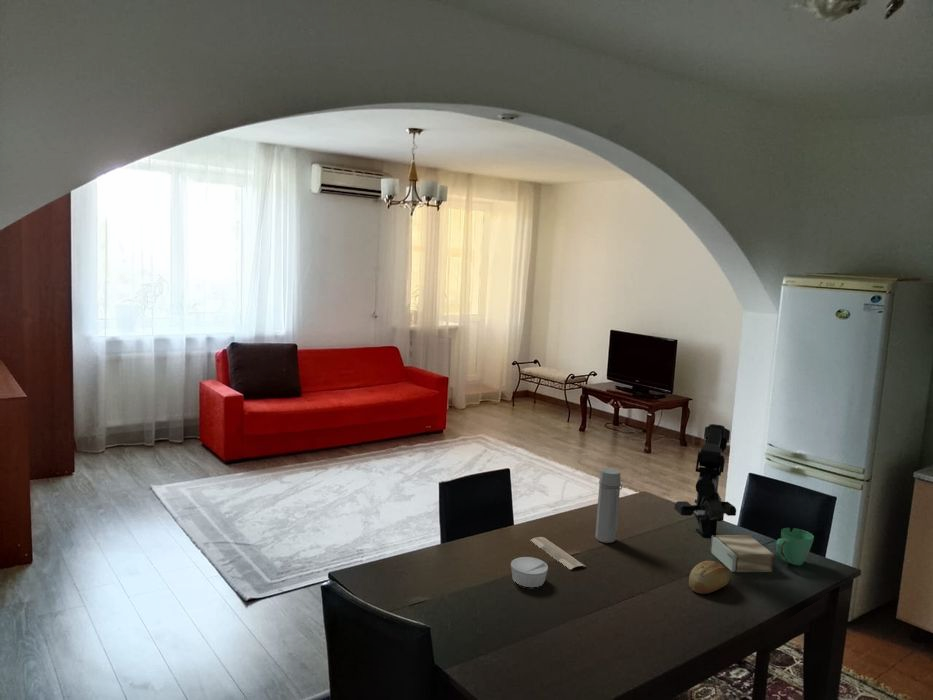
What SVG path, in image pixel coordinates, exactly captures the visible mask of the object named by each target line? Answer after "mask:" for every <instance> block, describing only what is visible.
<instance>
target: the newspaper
mask: <svg viewBox="0 0 933 700" xmlns="http://www.w3.org/2000/svg"><path fill="white" fill-rule="evenodd" d="M530 541H532V542H533V543H534V544H535V545H534V544H533V543H532V542H531V543H532V544H533V545H534V546H536V545H537V546H538V547H537V546H536V547H537V548H538V549H540V548H541V549H542V550H541V549H540V550H541V551H543V550H544V551H545V552H546V553H545V552H544V551H543V552H544V553H545V554H547V553H548V554H549V555H550V556H549V555H548V554H547V555H548V556H549V557H550V558H552V557H553V558H552V559H554V560H555V559H556V560H557V562H558V561H559V562H560V563H562V564H563V565H564V566H563V565H562V564H561V565H562V566H563V567H565V566H566V567H567V568H568V569H567V568H566V567H565V568H566V569H567V570H569V569H570V570H573V569H574V568H577V567H582V566H583V567H582V568H584V567H587V566H586V565H585V564H584V563H582V562H580V561H579V560H578V559H576V558H574V557H573V556H572V555H570V553H567V552H566V551H564V550H563V549H562V548H560V547H559V546H557V545H556V544H554V543H553V542H552V541H550V540H549V539H547V538H546V537H544V536H537V537H533V538H532V539H530V540H529V542H530ZM556 560H555V561H556ZM559 562H558V563H559ZM560 563H559V564H560ZM570 570H569V571H570Z"/></svg>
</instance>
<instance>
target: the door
mask: <svg viewBox="0 0 933 700" xmlns="http://www.w3.org/2000/svg"><path fill="white" fill-rule="evenodd" d="M710 539H711V541H710V550H709V551H710V552H711V554H712V555H713V556H714V557H716V559H718V560H719V561H720V562H721V563H722V565H724V566H725V567H726V568H727V569H728V570H730V572H734V573H735V572H736V571H735V567H736V558H737V555H736V554H735V553H733V552H732V551H731V550H730V549H729V548H728V547H727V546H725V545H724V544H723V543H722V542H721V541H720V540H718V539H717V538H716V537H715V536H714V535H712V537H711V538H710Z"/></svg>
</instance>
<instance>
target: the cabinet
mask: <svg viewBox="0 0 933 700" xmlns="http://www.w3.org/2000/svg"><path fill="white" fill-rule="evenodd" d="M716 538H717V539H718V540H720V541H721V542H722V543H723V544H724V545H725V546H727V547H728V548H729V549H730V550H731V551H732V552H733V553H735V554H736V555H737V558H736V567H735V572H736V573H772V572H773V563H774V553H773V552H772V551H770V550H769V549H768V548H766V547H765V546H764V545H762V544H761V543H760V542H759V541H757V540H756V539H755V538H753V537H752V536H751V535H750V534H719V535H716Z"/></svg>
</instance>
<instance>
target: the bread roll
mask: <svg viewBox="0 0 933 700" xmlns="http://www.w3.org/2000/svg"><path fill="white" fill-rule="evenodd" d="M729 580H730V572H729V569H728V567H726V566H725V565H724V564H721V563H719V562H717V561H714V560H704V561H700V562H699V563H697V564H696V565H695V566H694V567H693V568H692V569H691V571H690V573H689V577H688V585H689V587H690V589H691V590H692V591H693V592H694V593H696V594H701V595H702V594H703V595H704V594H710V593H713V592H715V591H718V590H720V589H721V588H724V587H725V586H727V584H728V583H729V582H730V581H729Z"/></svg>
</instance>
